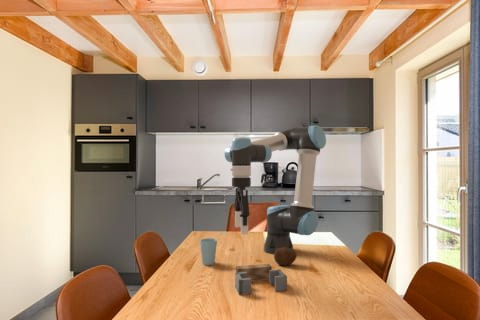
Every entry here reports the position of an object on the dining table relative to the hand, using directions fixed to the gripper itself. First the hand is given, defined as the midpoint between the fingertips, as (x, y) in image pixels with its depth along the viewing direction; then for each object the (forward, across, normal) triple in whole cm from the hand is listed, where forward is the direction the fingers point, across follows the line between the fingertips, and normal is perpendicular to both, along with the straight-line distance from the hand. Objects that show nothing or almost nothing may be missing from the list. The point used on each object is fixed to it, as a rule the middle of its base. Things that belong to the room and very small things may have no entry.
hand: (241, 230), depth 124 cm
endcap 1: (+18, +13, -2) cm, 23 cm away
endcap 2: (+18, +13, +11) cm, 25 cm away
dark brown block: (+18, +3, +4) cm, 19 cm away
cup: (+18, -19, -12) cm, 29 cm away
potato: (+18, -10, +22) cm, 30 cm away
